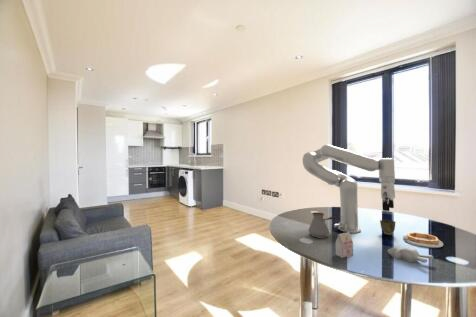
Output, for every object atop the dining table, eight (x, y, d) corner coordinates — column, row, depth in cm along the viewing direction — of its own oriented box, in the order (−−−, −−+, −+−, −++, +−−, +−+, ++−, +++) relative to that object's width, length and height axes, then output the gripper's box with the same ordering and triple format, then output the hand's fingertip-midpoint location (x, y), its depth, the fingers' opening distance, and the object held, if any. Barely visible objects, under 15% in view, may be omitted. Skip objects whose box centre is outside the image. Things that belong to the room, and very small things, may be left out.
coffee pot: (303, 234, 130) (303, 209, 130) (318, 231, 136) (317, 207, 136) (334, 247, 111) (333, 217, 111) (349, 242, 116) (349, 214, 117)
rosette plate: (425, 249, 106) (425, 243, 106) (395, 238, 122) (395, 232, 122) (452, 246, 109) (451, 240, 109) (419, 235, 125) (419, 230, 125)
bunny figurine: (394, 243, 105) (434, 250, 92) (396, 254, 104) (436, 263, 91) (383, 247, 100) (423, 255, 87) (385, 259, 100) (425, 269, 87)
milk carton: (335, 254, 102) (335, 233, 102) (346, 252, 105) (345, 231, 105) (342, 257, 99) (341, 235, 99) (353, 255, 102) (352, 233, 102)
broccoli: (391, 237, 123) (390, 223, 123) (377, 233, 130) (377, 220, 130) (398, 235, 126) (398, 221, 127) (384, 231, 133) (384, 218, 133)
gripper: (390, 181, 120) (392, 212, 119) (398, 178, 131) (399, 207, 131) (375, 180, 125) (376, 210, 125) (383, 178, 137) (384, 206, 137)
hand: (388, 209), depth 128 cm, fingers open, 9 cm apart
